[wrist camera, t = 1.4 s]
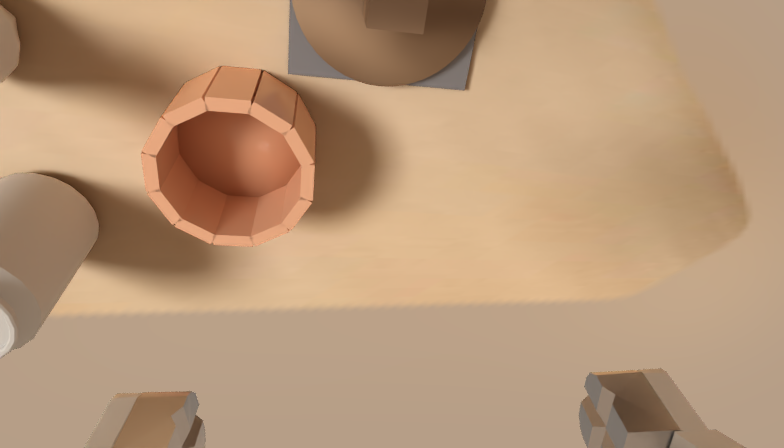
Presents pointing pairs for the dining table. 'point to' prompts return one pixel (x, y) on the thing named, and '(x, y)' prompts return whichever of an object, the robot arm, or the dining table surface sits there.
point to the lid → (388, 36)
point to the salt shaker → (8, 44)
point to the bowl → (232, 158)
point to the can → (38, 250)
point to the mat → (312, 64)
